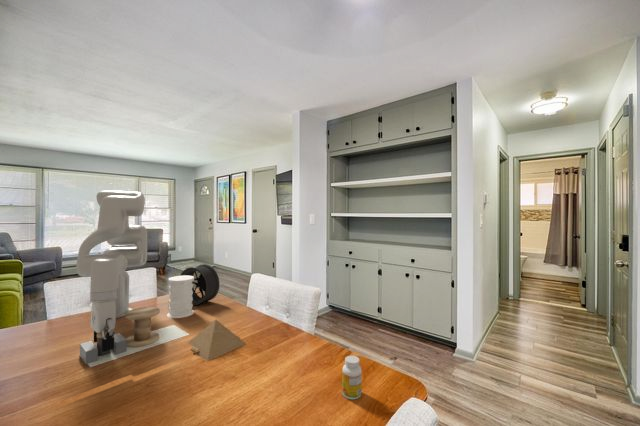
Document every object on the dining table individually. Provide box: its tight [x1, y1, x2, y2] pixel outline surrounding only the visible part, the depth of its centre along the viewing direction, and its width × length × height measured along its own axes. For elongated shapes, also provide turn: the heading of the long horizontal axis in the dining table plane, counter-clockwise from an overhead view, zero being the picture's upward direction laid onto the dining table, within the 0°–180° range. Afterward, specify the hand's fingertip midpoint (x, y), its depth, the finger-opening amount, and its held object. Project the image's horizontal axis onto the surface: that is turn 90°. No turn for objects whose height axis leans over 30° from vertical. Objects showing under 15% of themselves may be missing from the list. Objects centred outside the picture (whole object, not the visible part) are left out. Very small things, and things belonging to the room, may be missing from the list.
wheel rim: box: [179, 263, 220, 306], centre depth 152 cm, size 20×9×20 cm, turn 67°
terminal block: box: [79, 332, 127, 365], centre depth 95 cm, size 8×11×4 cm
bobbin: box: [124, 306, 161, 348], centre depth 105 cm, size 11×11×11 cm
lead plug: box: [96, 332, 110, 356], centre depth 95 cm, size 4×4×7 cm
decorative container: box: [166, 275, 195, 319], centre depth 133 cm, size 12×12×18 cm
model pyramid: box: [187, 319, 247, 362], centre depth 105 cm, size 17×17×10 cm
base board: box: [87, 324, 190, 368], centre depth 103 cm, size 14×31×1 cm, turn 141°
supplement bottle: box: [341, 355, 363, 400], centre depth 79 cm, size 5×5×10 cm
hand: (103, 345), depth 95 cm, fingers open, 9 cm apart
